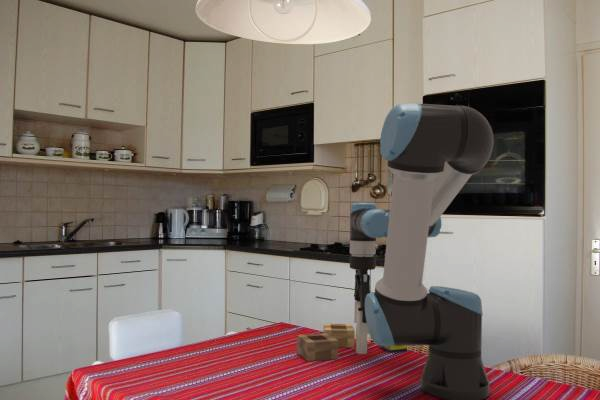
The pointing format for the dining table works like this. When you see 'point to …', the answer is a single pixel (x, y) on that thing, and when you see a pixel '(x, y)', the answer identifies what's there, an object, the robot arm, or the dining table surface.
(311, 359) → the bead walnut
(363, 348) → the needle dowel
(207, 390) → the dining table surface
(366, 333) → the robot arm
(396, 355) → the dining table surface
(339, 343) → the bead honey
